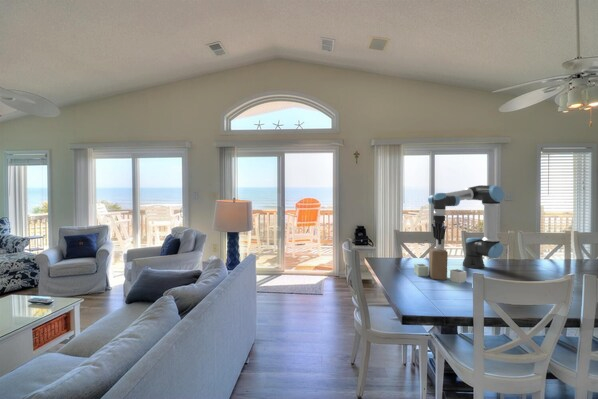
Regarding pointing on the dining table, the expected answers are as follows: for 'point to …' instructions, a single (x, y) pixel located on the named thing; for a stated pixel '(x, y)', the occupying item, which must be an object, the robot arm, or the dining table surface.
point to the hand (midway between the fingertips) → (438, 248)
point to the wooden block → (438, 263)
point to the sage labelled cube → (420, 269)
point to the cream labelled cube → (458, 275)
